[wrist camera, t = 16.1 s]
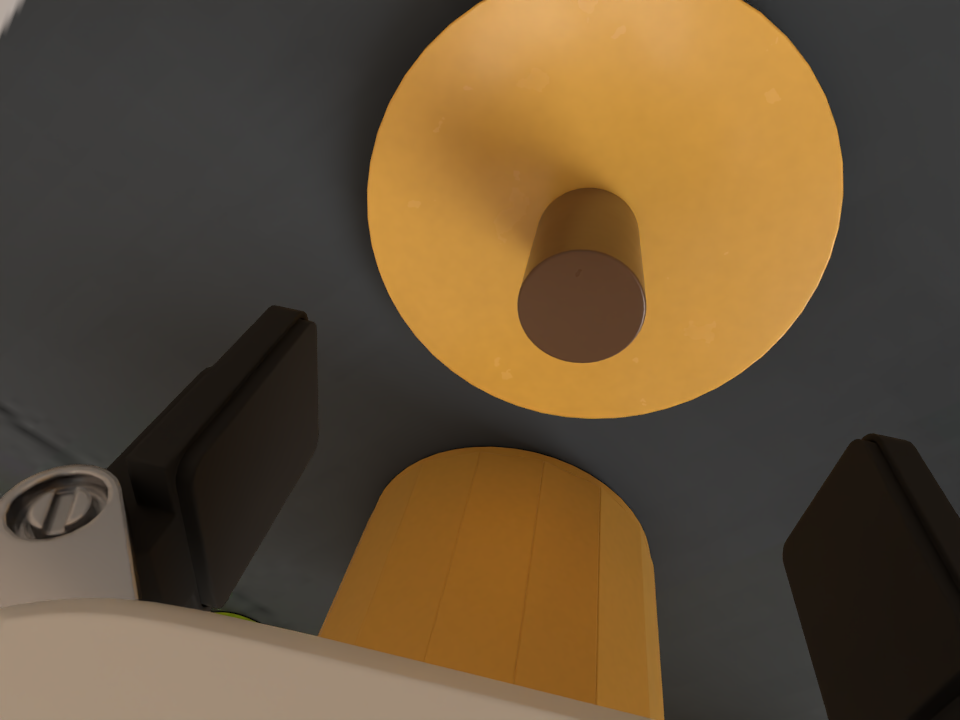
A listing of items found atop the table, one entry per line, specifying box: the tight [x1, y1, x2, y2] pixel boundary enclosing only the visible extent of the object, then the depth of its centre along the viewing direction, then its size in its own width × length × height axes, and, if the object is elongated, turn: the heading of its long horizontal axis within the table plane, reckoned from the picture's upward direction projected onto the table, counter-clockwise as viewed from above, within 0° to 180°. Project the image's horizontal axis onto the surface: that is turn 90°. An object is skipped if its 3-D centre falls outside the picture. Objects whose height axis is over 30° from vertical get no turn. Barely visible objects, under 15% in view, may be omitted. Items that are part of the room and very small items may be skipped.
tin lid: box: [367, 0, 843, 419], centre depth 18 cm, size 15×15×6 cm
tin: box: [318, 447, 664, 720], centre depth 24 cm, size 14×14×14 cm
